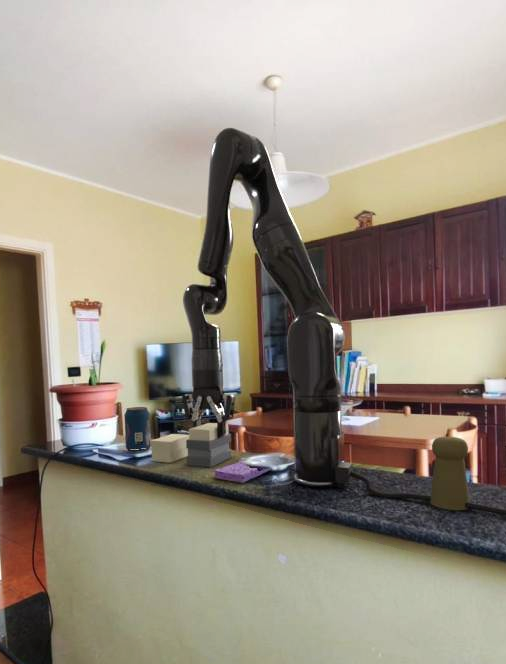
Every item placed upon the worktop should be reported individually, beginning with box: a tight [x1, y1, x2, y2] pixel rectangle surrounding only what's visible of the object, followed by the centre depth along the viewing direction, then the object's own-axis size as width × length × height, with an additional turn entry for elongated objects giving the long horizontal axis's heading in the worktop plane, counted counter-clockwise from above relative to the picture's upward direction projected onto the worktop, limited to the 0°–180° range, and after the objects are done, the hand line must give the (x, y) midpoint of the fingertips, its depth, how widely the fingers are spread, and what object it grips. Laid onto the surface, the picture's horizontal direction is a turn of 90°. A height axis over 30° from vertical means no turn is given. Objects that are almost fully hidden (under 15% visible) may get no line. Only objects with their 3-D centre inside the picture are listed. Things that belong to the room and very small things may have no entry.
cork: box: [428, 436, 471, 511], centre depth 70 cm, size 6×6×11 cm
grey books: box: [186, 433, 232, 468], centre depth 105 cm, size 7×11×6 cm, turn 153°
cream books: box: [150, 433, 189, 464], centre depth 110 cm, size 6×10×5 cm, turn 153°
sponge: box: [214, 459, 272, 483], centre depth 92 cm, size 7×13×2 cm, turn 145°
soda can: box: [123, 406, 152, 454], centre depth 120 cm, size 7×7×12 cm
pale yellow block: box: [188, 422, 230, 441], centre depth 105 cm, size 6×10×3 cm, turn 153°
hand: (209, 436), depth 105 cm, fingers open, 5 cm apart
